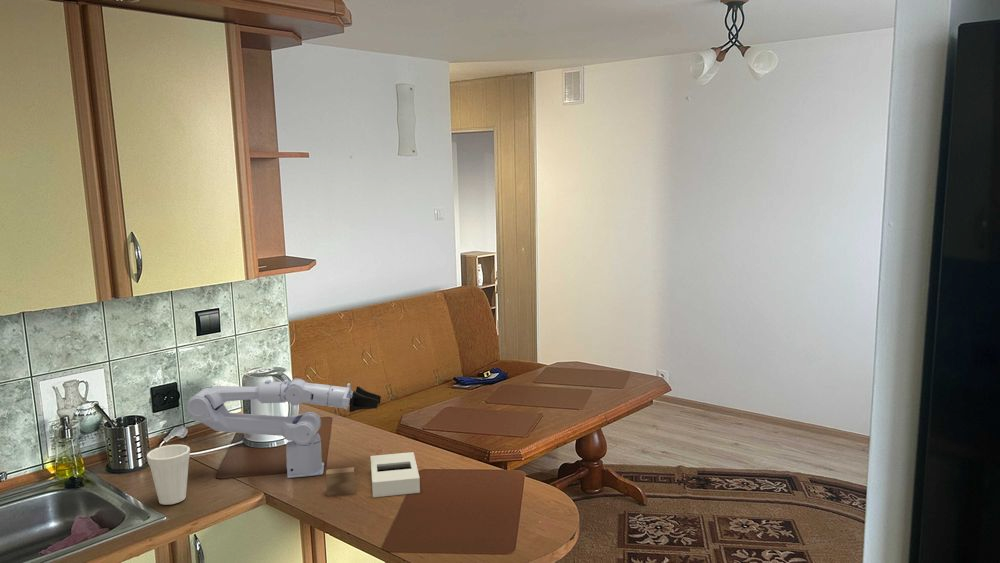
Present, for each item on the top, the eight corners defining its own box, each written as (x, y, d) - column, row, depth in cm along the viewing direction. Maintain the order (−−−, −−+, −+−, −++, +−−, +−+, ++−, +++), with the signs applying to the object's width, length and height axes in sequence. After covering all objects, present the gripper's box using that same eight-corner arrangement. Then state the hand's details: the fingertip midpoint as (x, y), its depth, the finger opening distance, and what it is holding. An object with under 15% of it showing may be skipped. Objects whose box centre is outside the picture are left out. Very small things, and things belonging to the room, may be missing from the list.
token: (327, 496, 180) (326, 474, 179) (327, 491, 183) (326, 469, 182) (354, 493, 182) (354, 471, 181) (354, 488, 184) (353, 467, 184)
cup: (167, 512, 172) (163, 462, 170) (141, 504, 177) (137, 454, 175) (202, 496, 181) (198, 448, 179) (177, 489, 185) (173, 441, 184)
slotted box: (372, 497, 179) (372, 482, 178) (371, 469, 197) (370, 455, 196) (420, 492, 181) (419, 477, 181) (414, 465, 199) (413, 452, 198)
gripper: (327, 384, 186) (378, 391, 187) (336, 378, 201) (383, 384, 202) (323, 411, 186) (374, 417, 187) (332, 402, 200) (380, 408, 201)
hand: (379, 402), depth 194 cm, fingers open, 7 cm apart
